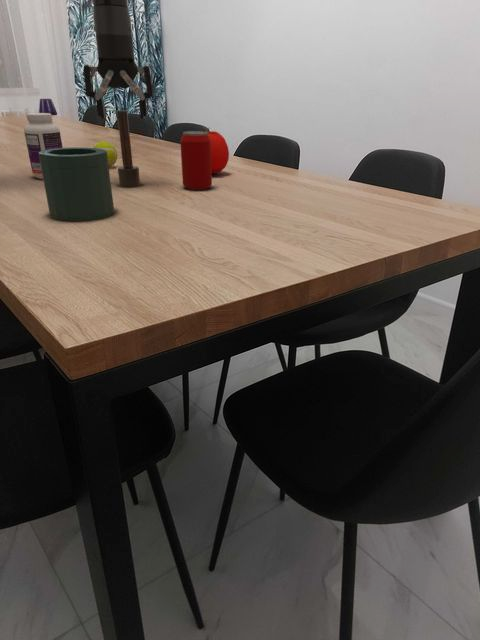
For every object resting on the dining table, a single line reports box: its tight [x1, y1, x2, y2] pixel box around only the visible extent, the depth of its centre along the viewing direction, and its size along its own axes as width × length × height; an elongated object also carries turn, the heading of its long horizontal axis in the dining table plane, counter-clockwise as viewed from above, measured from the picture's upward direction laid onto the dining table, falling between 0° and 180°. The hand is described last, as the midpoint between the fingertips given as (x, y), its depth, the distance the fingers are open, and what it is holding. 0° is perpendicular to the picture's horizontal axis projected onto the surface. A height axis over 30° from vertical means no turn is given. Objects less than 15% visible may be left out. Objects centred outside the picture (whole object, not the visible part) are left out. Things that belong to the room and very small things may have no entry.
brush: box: [116, 109, 141, 188], centre depth 115 cm, size 5×5×16 cm
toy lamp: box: [38, 98, 58, 123], centre depth 140 cm, size 5×5×17 cm
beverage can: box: [179, 130, 213, 191], centre depth 115 cm, size 7×7×12 cm
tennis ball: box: [93, 141, 118, 168], centre depth 138 cm, size 7×7×7 cm
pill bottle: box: [23, 112, 64, 180], centre depth 122 cm, size 8×8×14 cm
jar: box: [38, 146, 115, 222], centre depth 92 cm, size 11×11×11 cm
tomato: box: [201, 127, 230, 174], centre depth 131 cm, size 12×12×11 cm
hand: (123, 118), depth 112 cm, fingers open, 8 cm apart
